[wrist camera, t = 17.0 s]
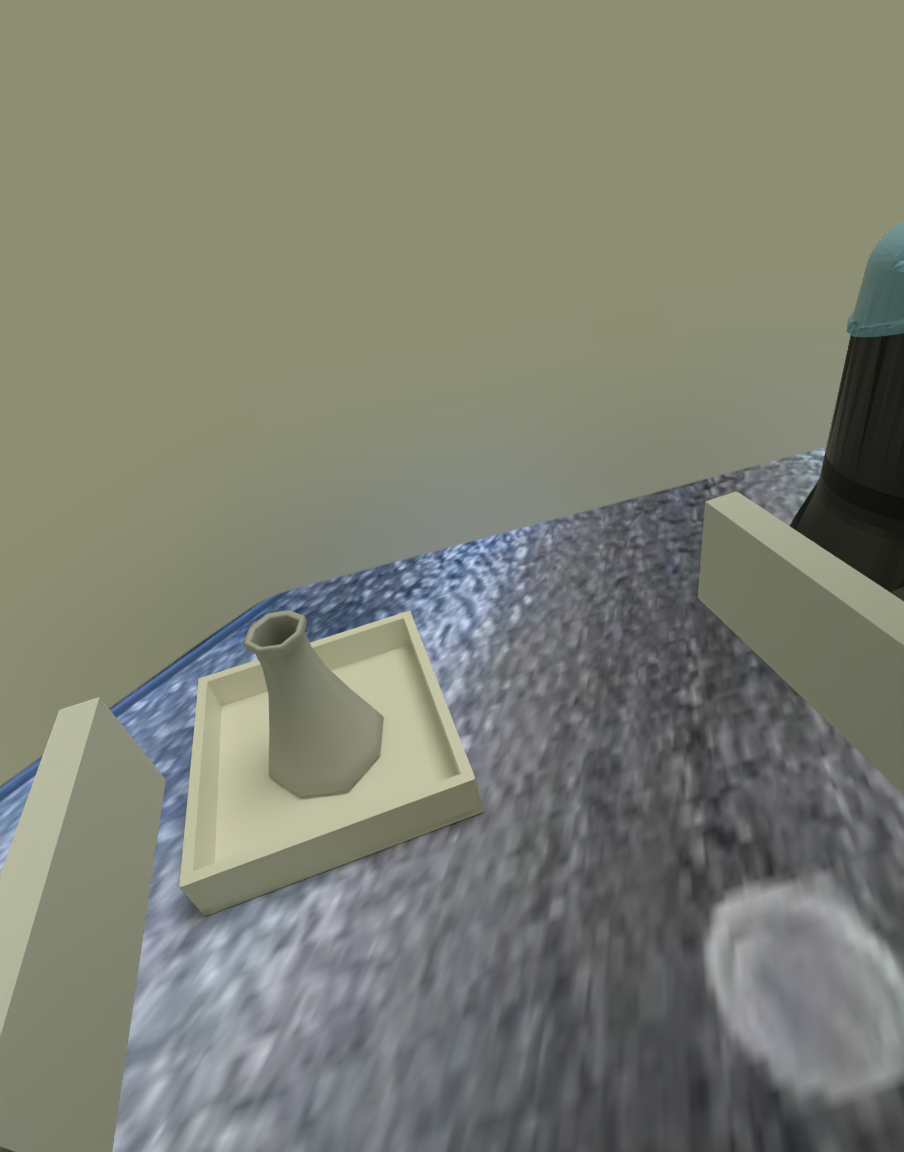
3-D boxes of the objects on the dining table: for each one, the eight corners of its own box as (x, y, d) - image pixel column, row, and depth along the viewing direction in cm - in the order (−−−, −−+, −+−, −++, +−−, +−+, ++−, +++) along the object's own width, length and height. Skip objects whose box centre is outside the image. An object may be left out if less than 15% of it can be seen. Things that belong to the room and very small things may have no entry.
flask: (307, 698, 41) (254, 583, 35) (402, 710, 39) (362, 590, 33) (250, 788, 36) (176, 672, 30) (356, 810, 33) (299, 687, 28)
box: (418, 641, 45) (409, 610, 43) (483, 811, 33) (475, 778, 31) (216, 707, 43) (198, 678, 41) (204, 916, 31) (179, 887, 29)
